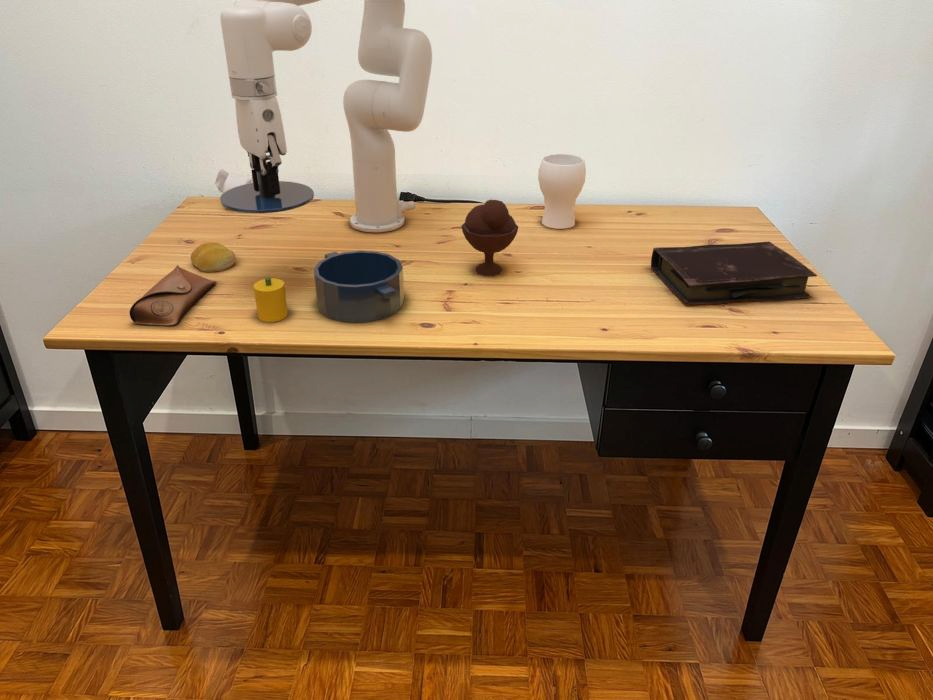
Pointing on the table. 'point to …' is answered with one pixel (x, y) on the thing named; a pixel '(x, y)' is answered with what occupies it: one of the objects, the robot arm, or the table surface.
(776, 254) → the diary
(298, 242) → the table surface
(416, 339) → the table surface
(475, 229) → the ice cream bowl
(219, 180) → the elephant figurine
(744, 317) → the table surface
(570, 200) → the cup
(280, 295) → the yellow cylinder with peg
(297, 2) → the robot arm
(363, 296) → the pan
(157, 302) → the sunglasses case
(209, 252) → the bread roll
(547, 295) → the table surface
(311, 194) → the lid
